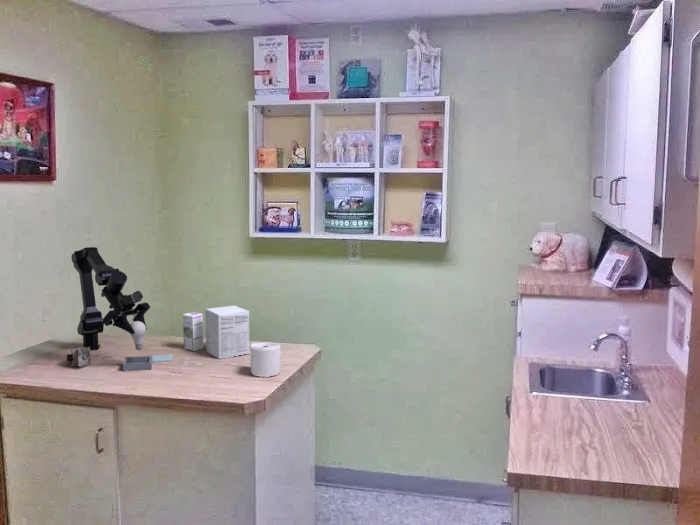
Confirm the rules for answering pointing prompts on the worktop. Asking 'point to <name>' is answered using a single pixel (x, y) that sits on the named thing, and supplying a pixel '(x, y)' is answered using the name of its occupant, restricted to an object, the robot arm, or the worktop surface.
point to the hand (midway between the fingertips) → (139, 331)
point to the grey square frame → (137, 363)
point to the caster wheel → (80, 356)
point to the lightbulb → (138, 334)
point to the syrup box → (193, 331)
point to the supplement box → (227, 331)
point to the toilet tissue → (265, 358)
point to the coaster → (162, 358)
